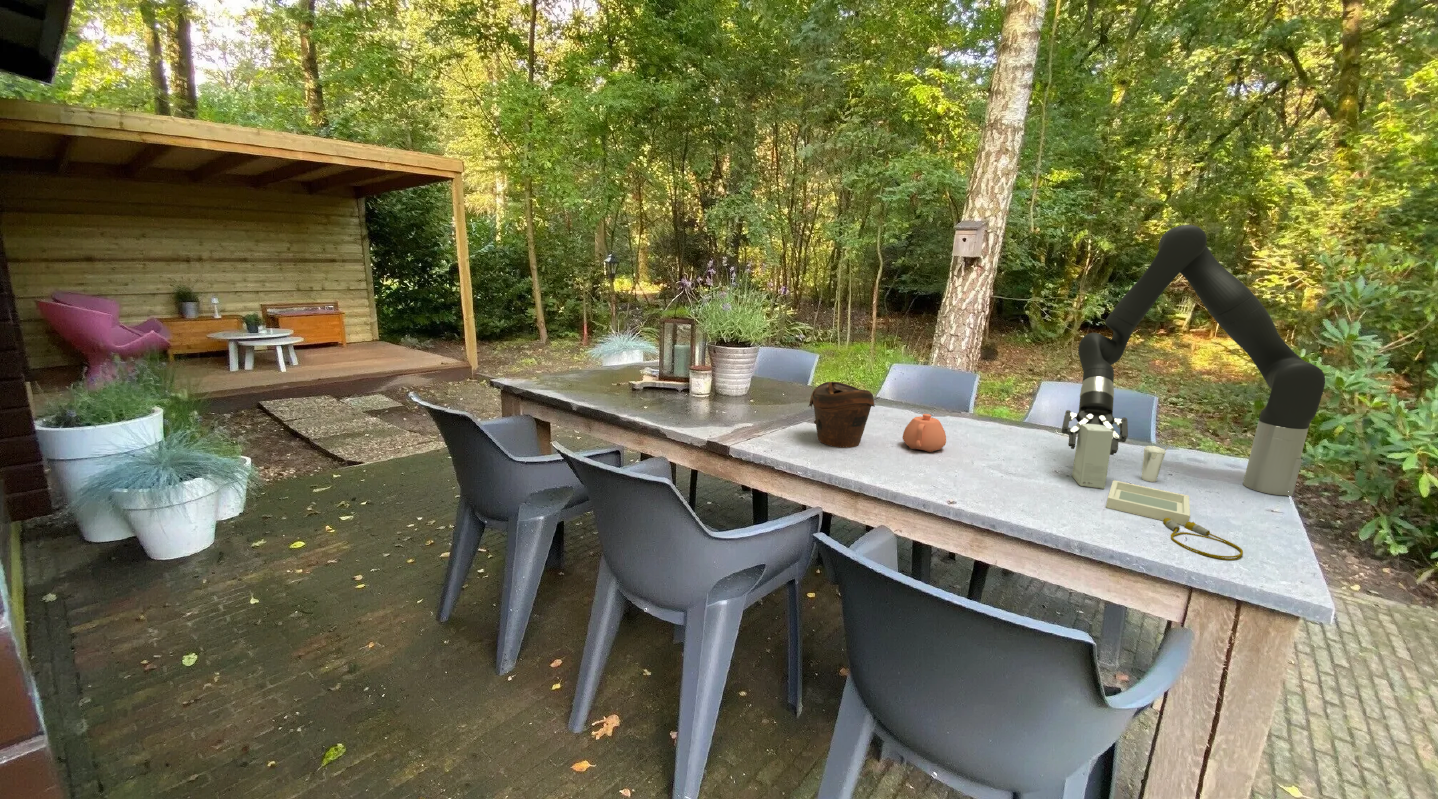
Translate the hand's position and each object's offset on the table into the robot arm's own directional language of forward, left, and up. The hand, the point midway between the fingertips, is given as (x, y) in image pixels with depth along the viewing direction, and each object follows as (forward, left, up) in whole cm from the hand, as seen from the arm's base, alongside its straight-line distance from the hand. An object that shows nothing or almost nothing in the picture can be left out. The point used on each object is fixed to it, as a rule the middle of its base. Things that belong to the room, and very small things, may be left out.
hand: (1092, 450), depth 151 cm
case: (+64, +11, -9) cm, 66 cm away
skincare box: (0, -1, -9) cm, 9 cm away
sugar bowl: (+42, 0, -9) cm, 43 cm away
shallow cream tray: (-13, +8, -9) cm, 18 cm away
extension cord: (-23, +23, -9) cm, 34 cm away
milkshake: (-13, -15, -9) cm, 22 cm away
